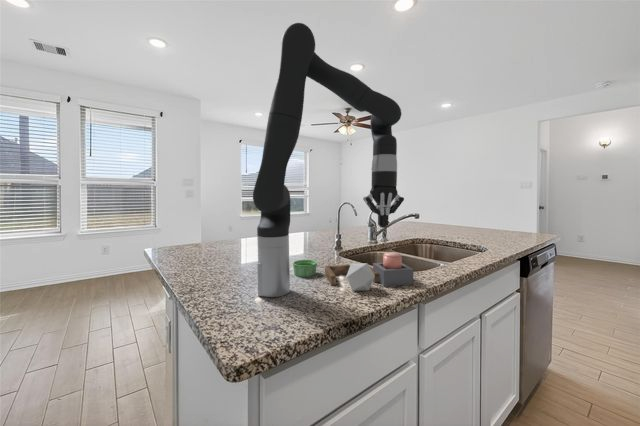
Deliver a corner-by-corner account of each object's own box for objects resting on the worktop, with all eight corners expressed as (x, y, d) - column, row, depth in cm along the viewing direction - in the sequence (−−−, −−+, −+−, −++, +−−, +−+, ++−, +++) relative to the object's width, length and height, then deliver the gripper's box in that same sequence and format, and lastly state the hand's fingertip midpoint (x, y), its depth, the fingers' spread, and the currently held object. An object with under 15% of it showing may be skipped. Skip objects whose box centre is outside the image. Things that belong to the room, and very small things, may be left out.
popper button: (387, 273, 90) (387, 256, 90) (380, 268, 96) (380, 252, 96) (404, 272, 91) (404, 255, 91) (396, 267, 97) (397, 251, 96)
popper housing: (383, 286, 88) (383, 270, 88) (372, 277, 98) (372, 263, 97) (413, 284, 89) (413, 269, 89) (399, 275, 99) (399, 261, 99)
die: (367, 298, 80) (382, 269, 82) (341, 282, 81) (356, 254, 83) (362, 298, 88) (376, 271, 90) (339, 284, 89) (353, 258, 91)
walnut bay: (331, 285, 89) (331, 276, 89) (324, 273, 103) (324, 265, 103) (379, 282, 92) (379, 273, 92) (366, 271, 105) (366, 263, 105)
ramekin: (299, 279, 97) (299, 266, 97) (289, 273, 105) (288, 261, 105) (321, 275, 102) (321, 263, 101) (310, 269, 109) (309, 258, 109)
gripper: (367, 169, 80) (366, 229, 81) (410, 170, 83) (408, 228, 84) (359, 171, 88) (358, 226, 89) (398, 172, 90) (397, 225, 91)
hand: (383, 227), depth 86 cm, fingers closed
